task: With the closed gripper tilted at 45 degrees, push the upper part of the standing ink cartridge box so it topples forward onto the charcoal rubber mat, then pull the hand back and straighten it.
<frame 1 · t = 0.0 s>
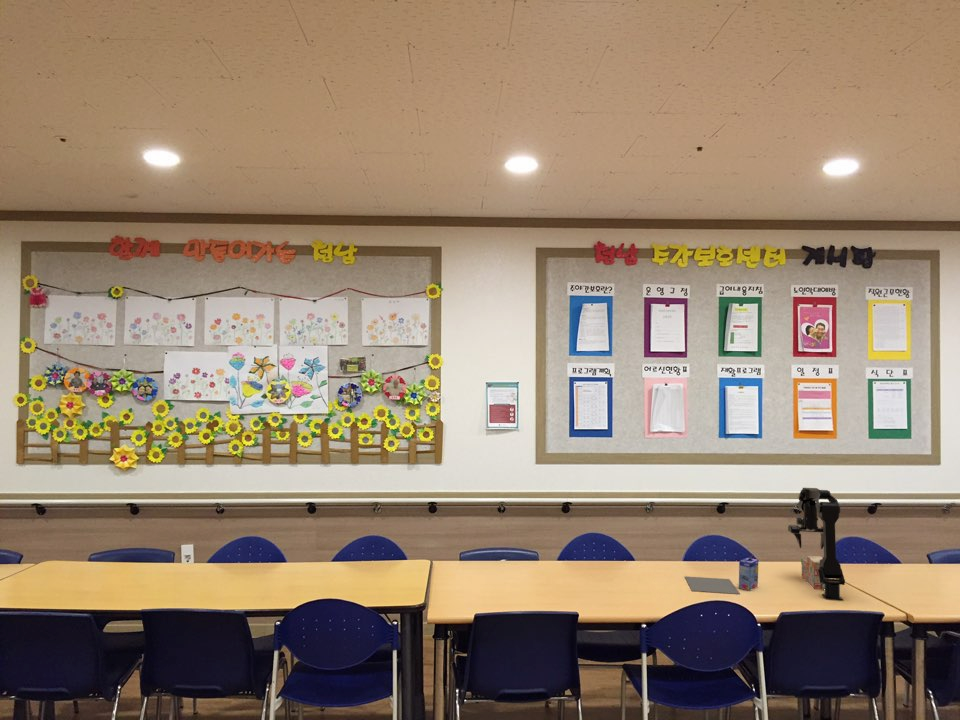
hand: (810, 548, 312), 15 cm above the table, tool pointing down, fingers open, 9 cm apart
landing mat: (711, 585, 300), on the table
ink cartridge box: (748, 588, 297), on the table
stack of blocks: (814, 584, 306), on the table
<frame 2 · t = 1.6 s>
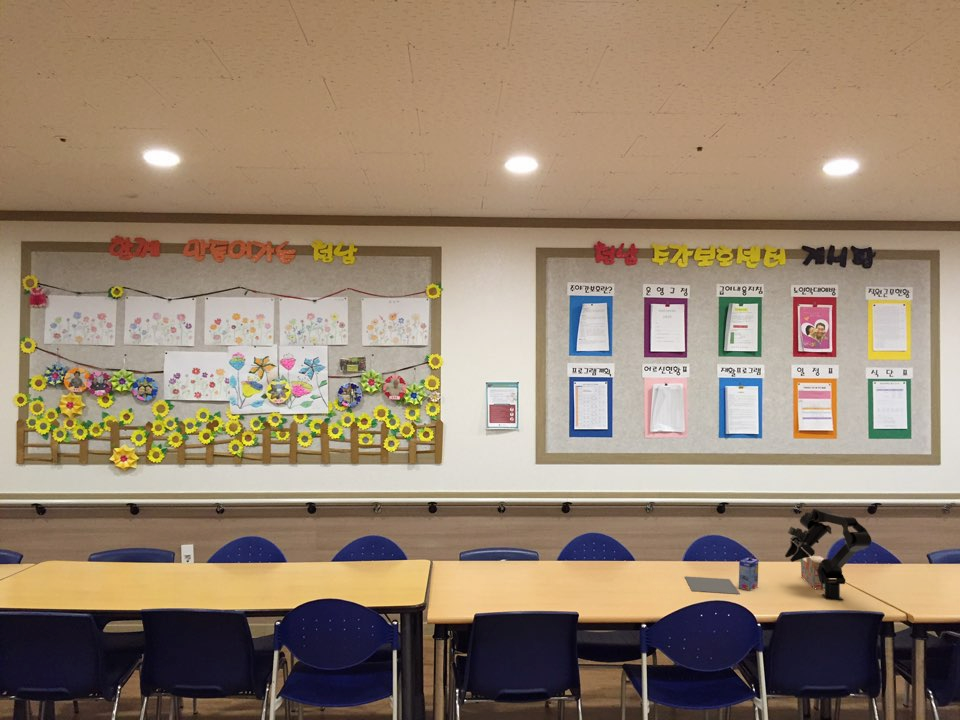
hand: (788, 558, 295), 14 cm above the table, tool tilted 45°, fingers open, 9 cm apart
nothing on the table moved.
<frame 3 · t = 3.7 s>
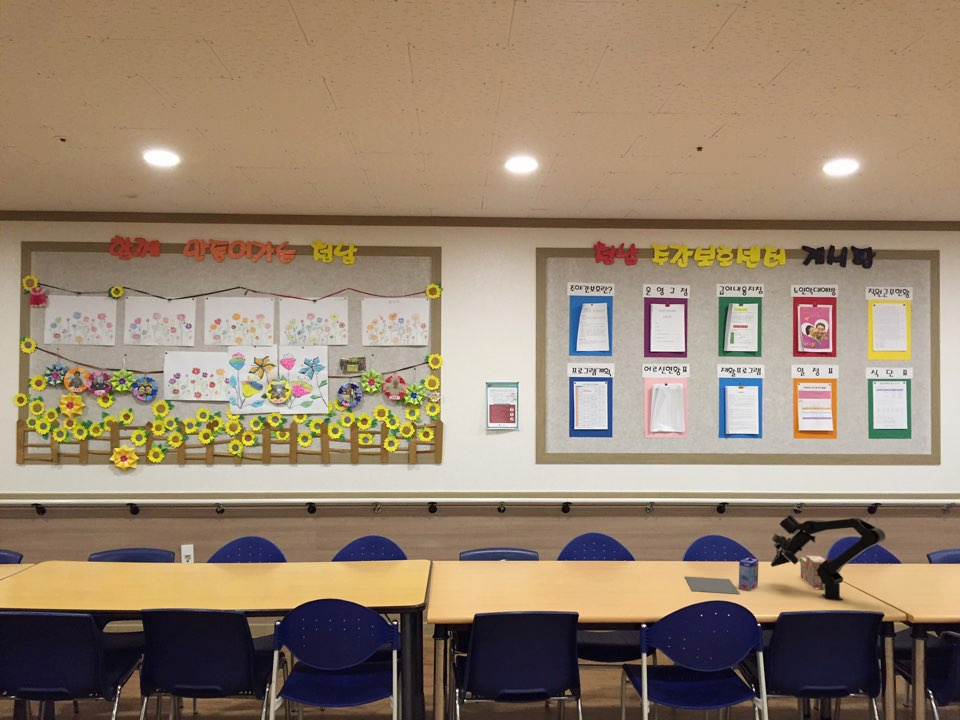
hand: (771, 565, 296), 10 cm above the table, tool tilted 45°, fingers closed
nothing on the table moved.
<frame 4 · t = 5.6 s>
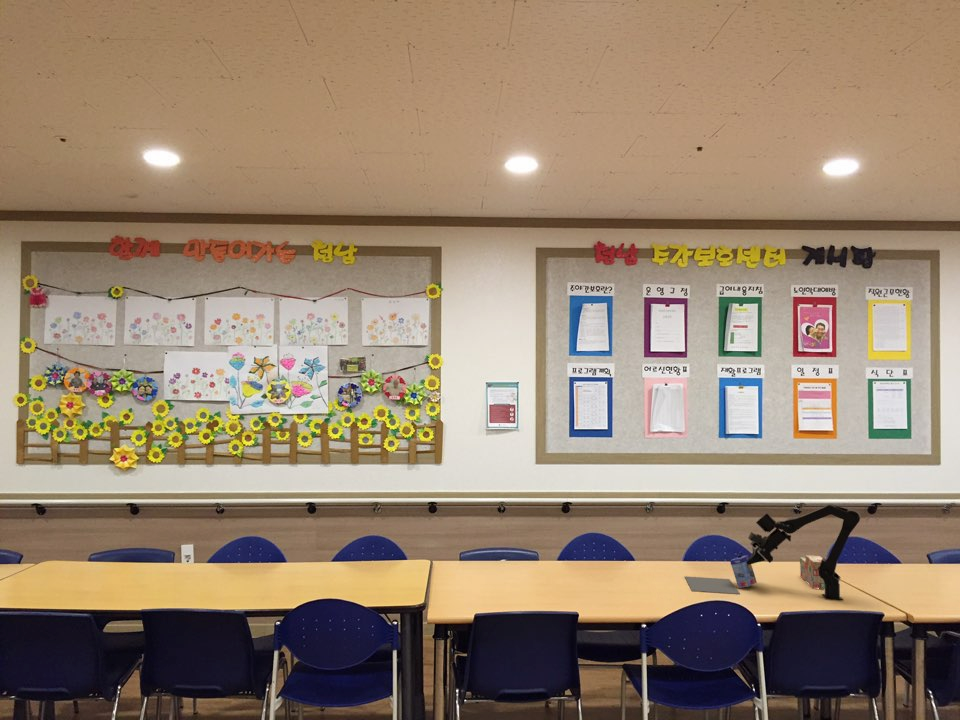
hand: (747, 564, 298), 10 cm above the table, tool tilted 45°, fingers closed
ink cartridge box: (748, 585, 297), point 1 cm above the table, touching gripper
everything else where it was.
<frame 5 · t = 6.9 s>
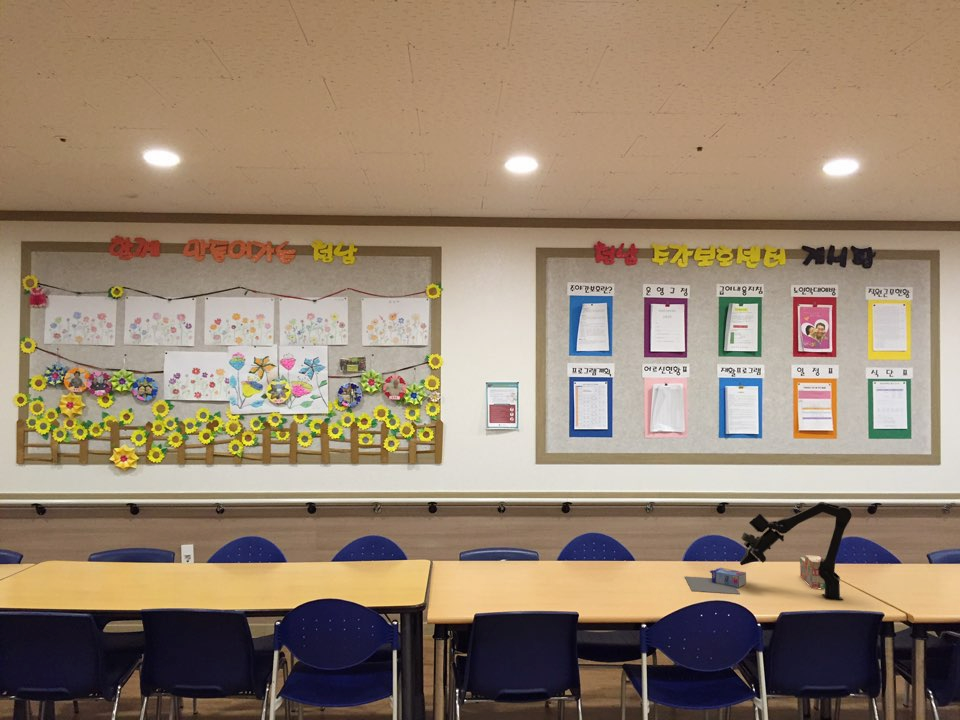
hand: (740, 564, 298), 10 cm above the table, tool tilted 45°, fingers closed
ink cartridge box: (743, 579, 299), point 3 cm above the table, touching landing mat
everything else where it was.
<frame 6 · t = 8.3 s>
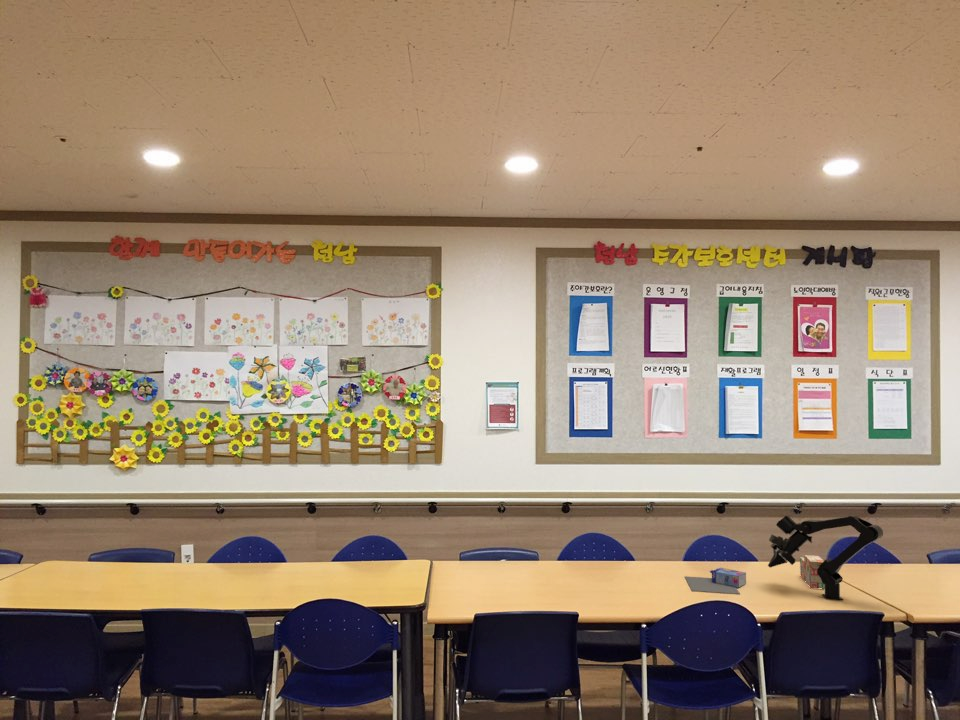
hand: (768, 566, 296), 10 cm above the table, tool tilted 45°, fingers closed
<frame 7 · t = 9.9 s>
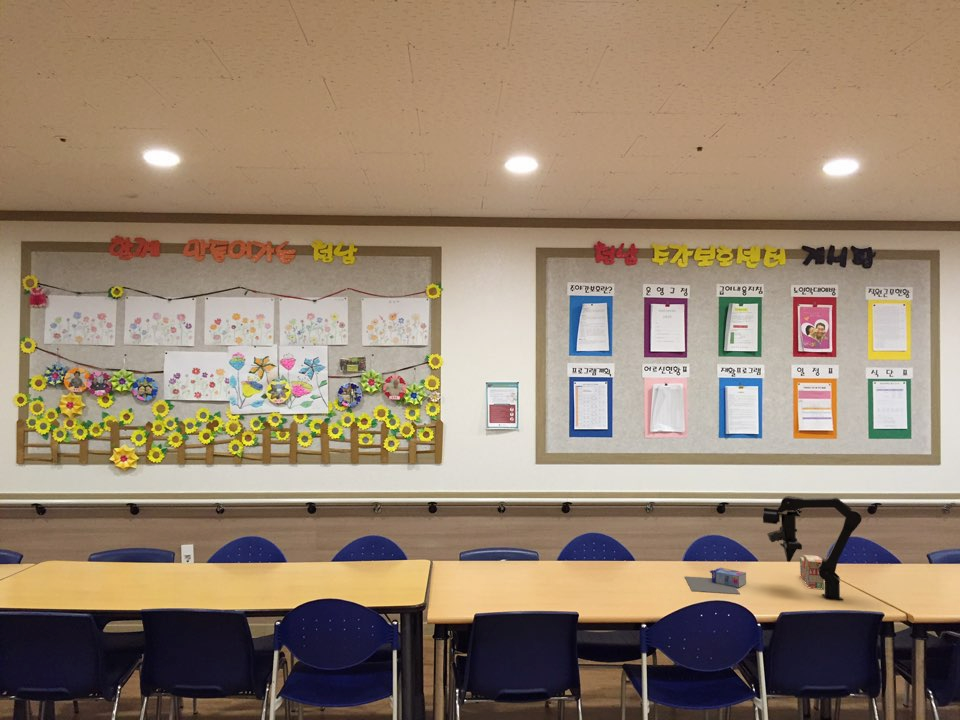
hand: (788, 561, 292), 13 cm above the table, tool pointing down, fingers closed
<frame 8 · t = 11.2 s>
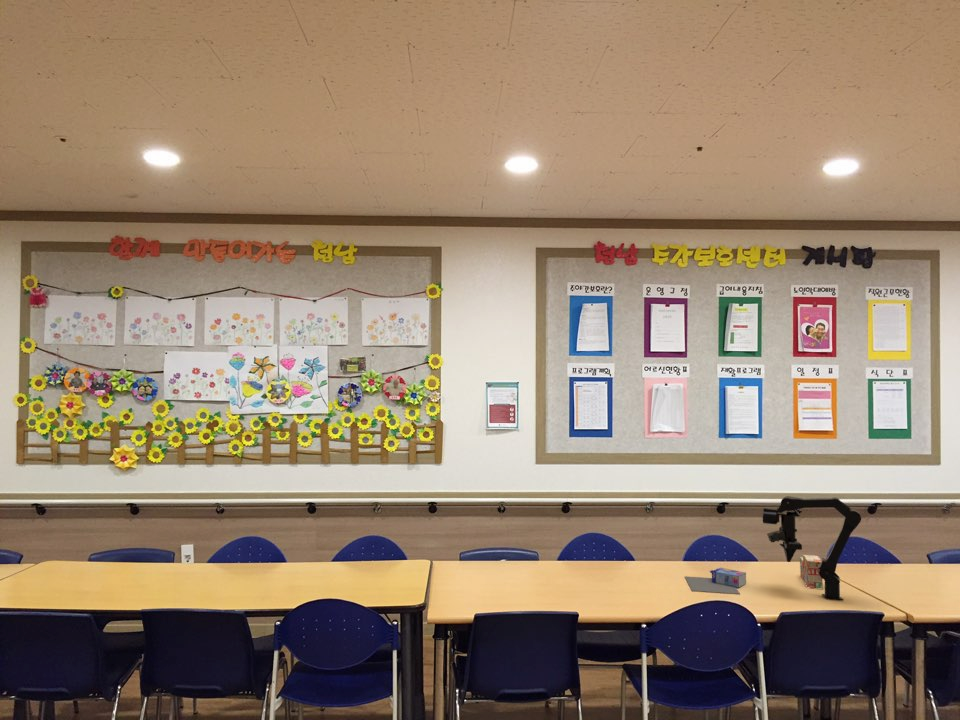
hand: (788, 561, 292), 13 cm above the table, tool pointing down, fingers closed
at the end: ink cartridge box tilted 91°; ink cartridge box touching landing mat; the gripper is holding nothing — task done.
